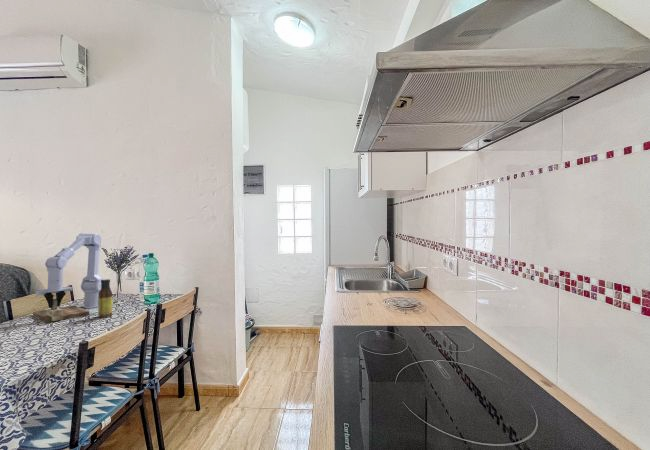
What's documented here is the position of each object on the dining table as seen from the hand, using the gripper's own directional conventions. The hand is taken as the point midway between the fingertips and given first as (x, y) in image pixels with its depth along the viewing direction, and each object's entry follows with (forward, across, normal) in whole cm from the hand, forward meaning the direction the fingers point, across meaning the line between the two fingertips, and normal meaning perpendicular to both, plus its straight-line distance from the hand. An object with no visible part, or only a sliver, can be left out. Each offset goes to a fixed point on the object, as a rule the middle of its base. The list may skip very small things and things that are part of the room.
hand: (54, 307), depth 160 cm
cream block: (+6, 0, +1) cm, 6 cm away
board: (+6, -5, -6) cm, 10 cm away
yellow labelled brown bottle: (+7, -17, +14) cm, 23 cm away
